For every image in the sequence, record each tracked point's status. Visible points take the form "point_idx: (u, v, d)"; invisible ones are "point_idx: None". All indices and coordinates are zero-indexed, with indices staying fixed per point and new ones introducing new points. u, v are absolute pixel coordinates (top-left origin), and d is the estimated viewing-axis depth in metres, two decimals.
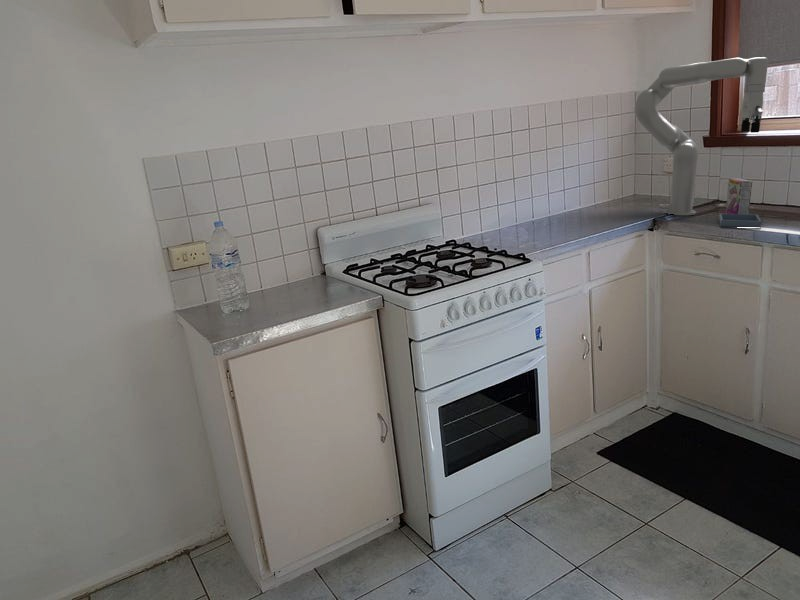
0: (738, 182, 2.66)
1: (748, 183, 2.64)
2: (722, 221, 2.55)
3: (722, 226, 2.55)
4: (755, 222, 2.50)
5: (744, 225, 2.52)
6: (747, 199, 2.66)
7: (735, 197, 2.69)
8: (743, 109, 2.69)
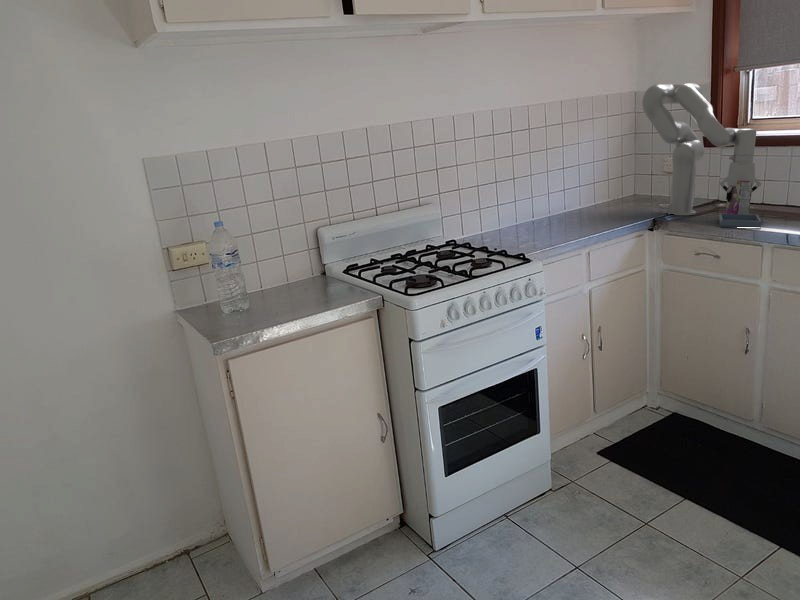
0: (738, 182, 2.66)
1: (748, 182, 2.64)
2: (722, 221, 2.55)
3: (722, 226, 2.55)
4: (755, 222, 2.50)
5: (744, 225, 2.52)
6: (747, 199, 2.66)
7: (735, 197, 2.69)
8: (736, 178, 2.67)
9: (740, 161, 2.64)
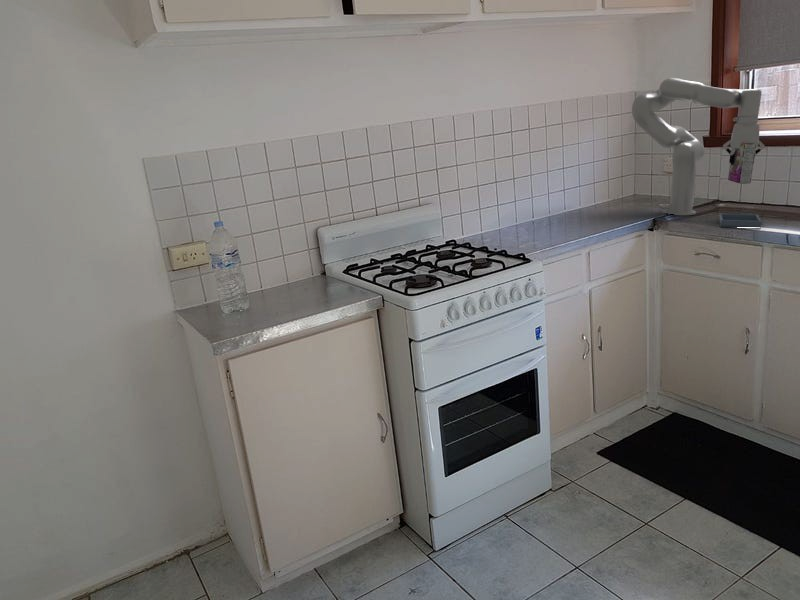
0: (742, 144, 2.62)
1: (752, 144, 2.60)
2: (722, 221, 2.55)
3: (722, 226, 2.55)
4: (755, 222, 2.50)
5: (744, 225, 2.52)
6: (750, 162, 2.62)
7: (739, 159, 2.65)
8: (739, 140, 2.63)
9: (744, 122, 2.60)
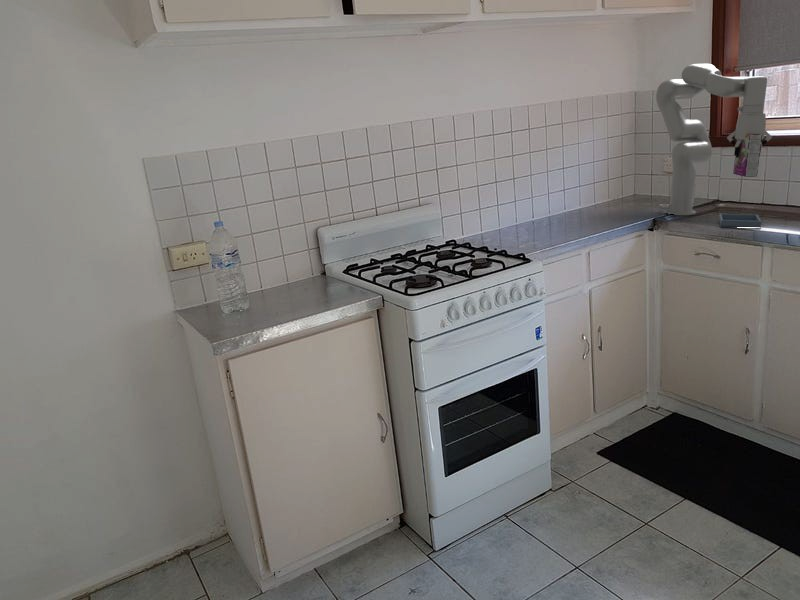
0: (747, 135, 2.47)
1: (758, 135, 2.44)
2: (722, 221, 2.55)
3: (722, 226, 2.55)
4: (755, 222, 2.50)
5: (744, 225, 2.52)
6: (756, 154, 2.46)
7: (744, 151, 2.49)
8: (745, 131, 2.48)
9: (749, 112, 2.45)
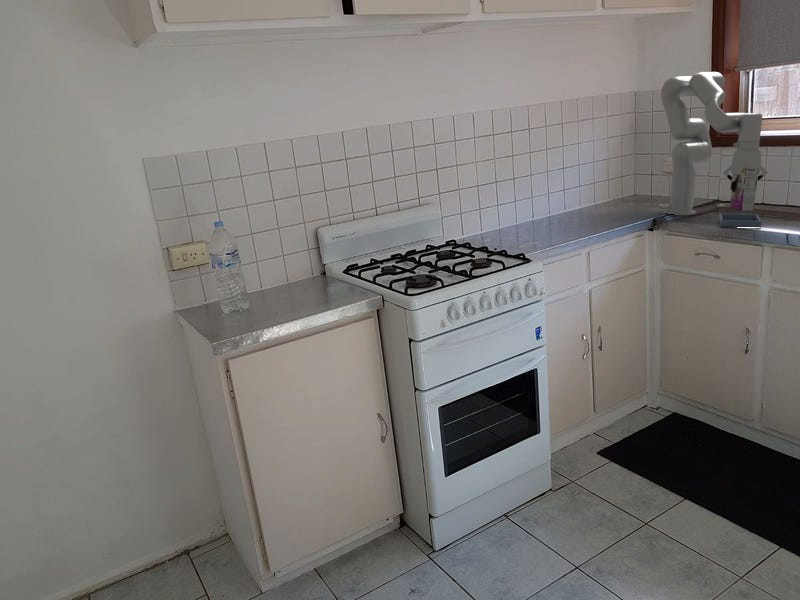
0: (743, 170, 2.51)
1: (753, 171, 2.48)
2: (722, 221, 2.55)
3: (722, 226, 2.55)
4: (755, 222, 2.50)
5: (744, 225, 2.52)
6: (752, 189, 2.50)
7: (740, 186, 2.53)
8: (740, 166, 2.52)
9: (745, 148, 2.48)
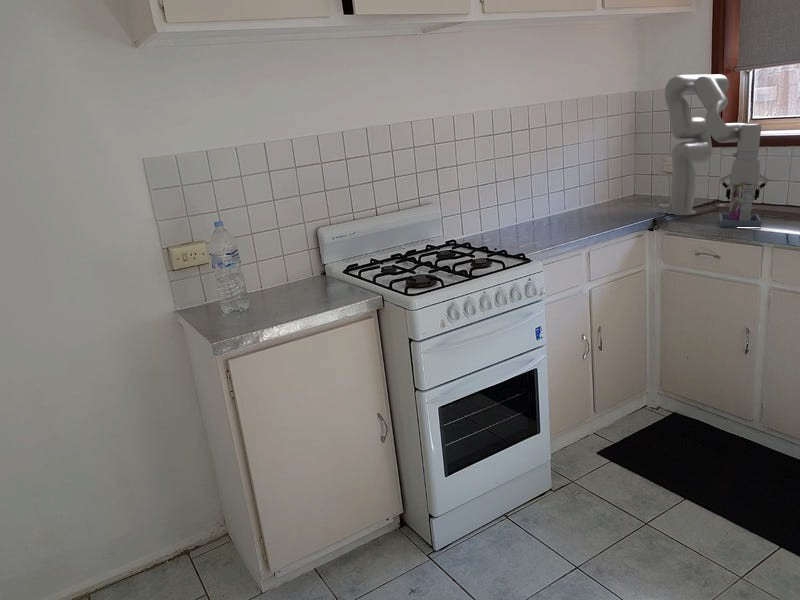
0: (740, 184, 2.52)
1: (751, 185, 2.50)
2: (722, 221, 2.55)
3: (722, 226, 2.55)
4: (755, 222, 2.50)
5: (744, 225, 2.52)
6: (749, 203, 2.52)
7: (737, 200, 2.55)
8: (739, 177, 2.53)
9: (744, 158, 2.50)
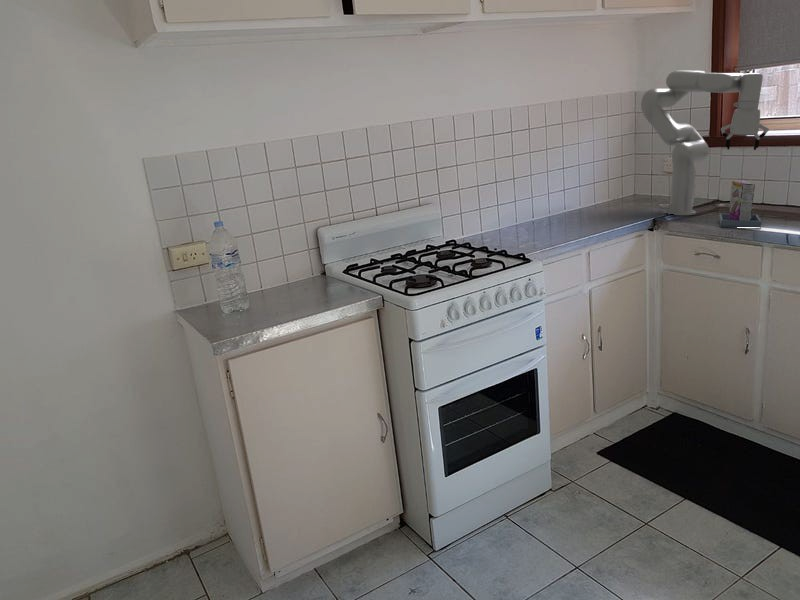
0: (740, 185, 2.52)
1: (750, 185, 2.50)
2: (722, 221, 2.55)
3: (722, 226, 2.55)
4: (755, 222, 2.50)
5: (744, 225, 2.52)
6: (749, 203, 2.52)
7: (737, 200, 2.55)
8: (739, 126, 2.56)
9: (744, 108, 2.53)
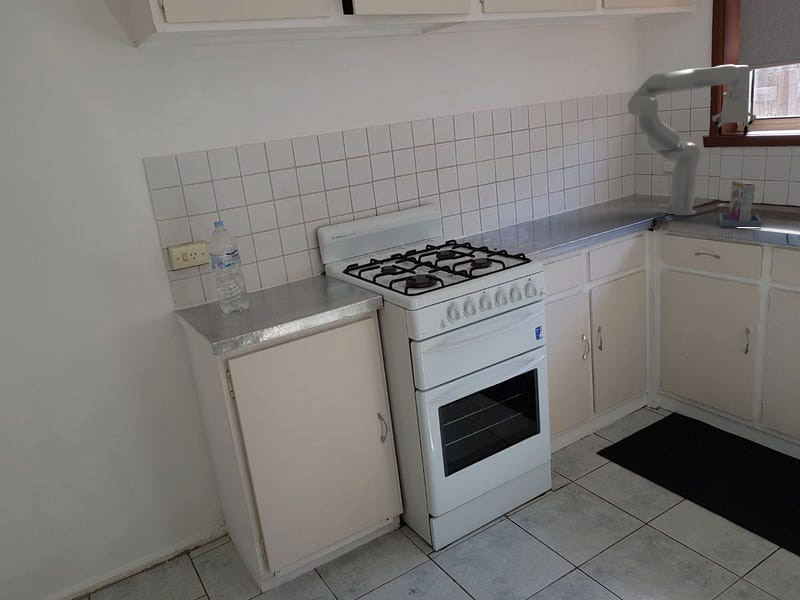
0: (740, 185, 2.52)
1: (750, 185, 2.50)
2: (722, 221, 2.55)
3: (722, 226, 2.55)
4: (755, 222, 2.50)
5: (744, 225, 2.52)
6: (749, 203, 2.52)
7: (737, 200, 2.55)
8: (729, 114, 2.77)
9: (733, 97, 2.74)
